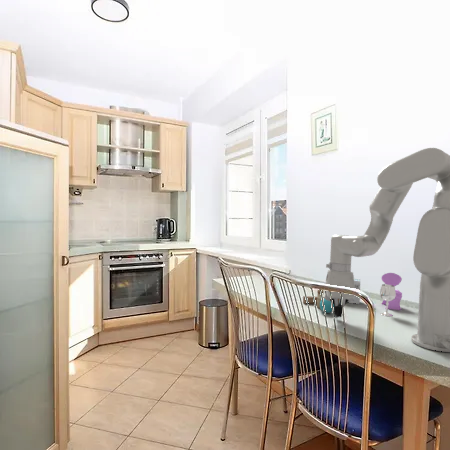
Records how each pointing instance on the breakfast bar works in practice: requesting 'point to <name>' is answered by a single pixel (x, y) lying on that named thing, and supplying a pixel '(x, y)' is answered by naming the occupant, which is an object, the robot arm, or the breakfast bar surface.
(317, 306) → the rear left pin
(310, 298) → the back rail
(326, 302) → the ball
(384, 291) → the wineglass
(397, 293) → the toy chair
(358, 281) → the light bulb box
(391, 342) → the breakfast bar surface
